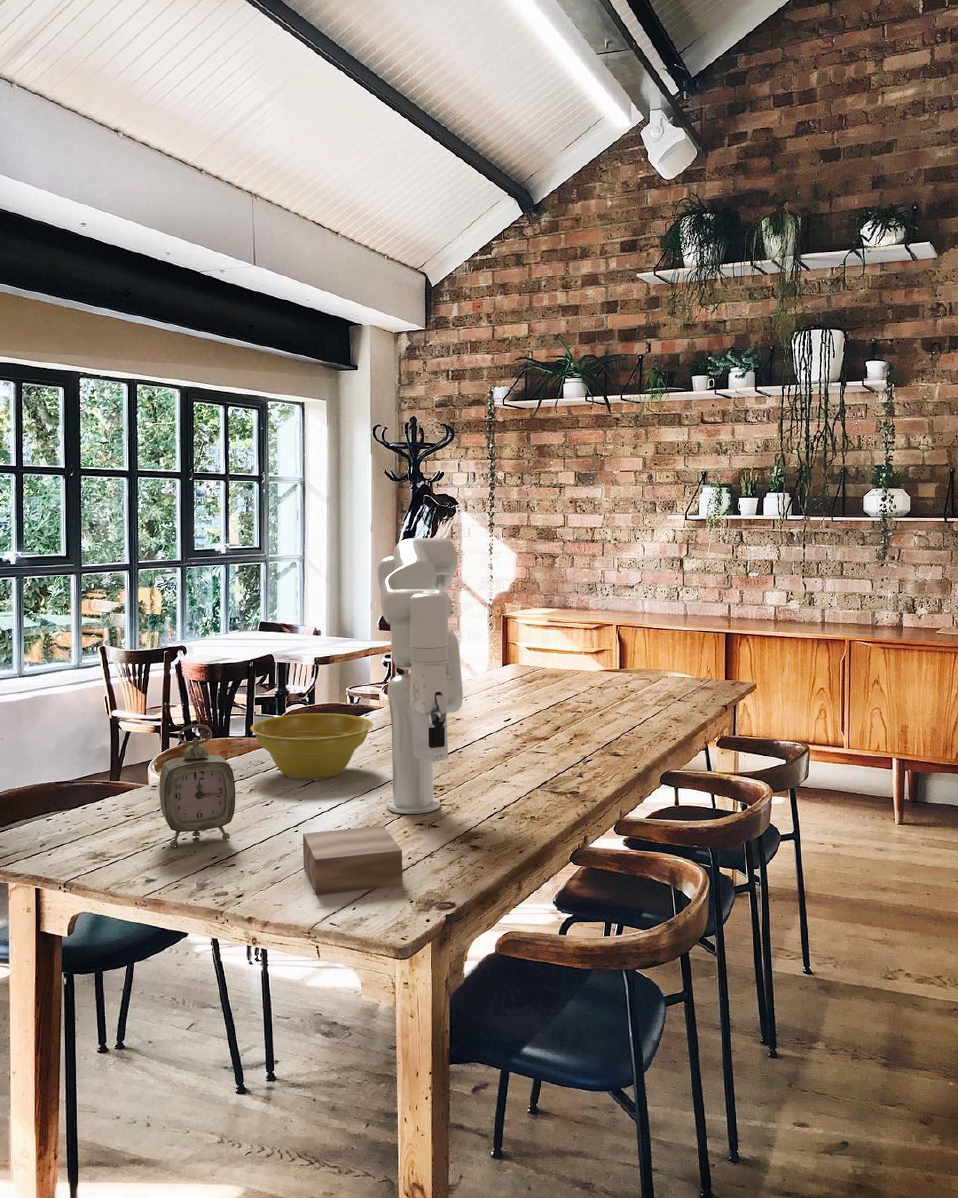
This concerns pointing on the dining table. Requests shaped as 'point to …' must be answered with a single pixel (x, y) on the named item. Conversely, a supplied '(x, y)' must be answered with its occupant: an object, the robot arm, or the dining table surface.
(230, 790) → the tabletop clock
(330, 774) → the planter bowl
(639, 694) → the dining table surface
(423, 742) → the skincare box
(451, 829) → the dining table surface
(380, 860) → the walnut block
